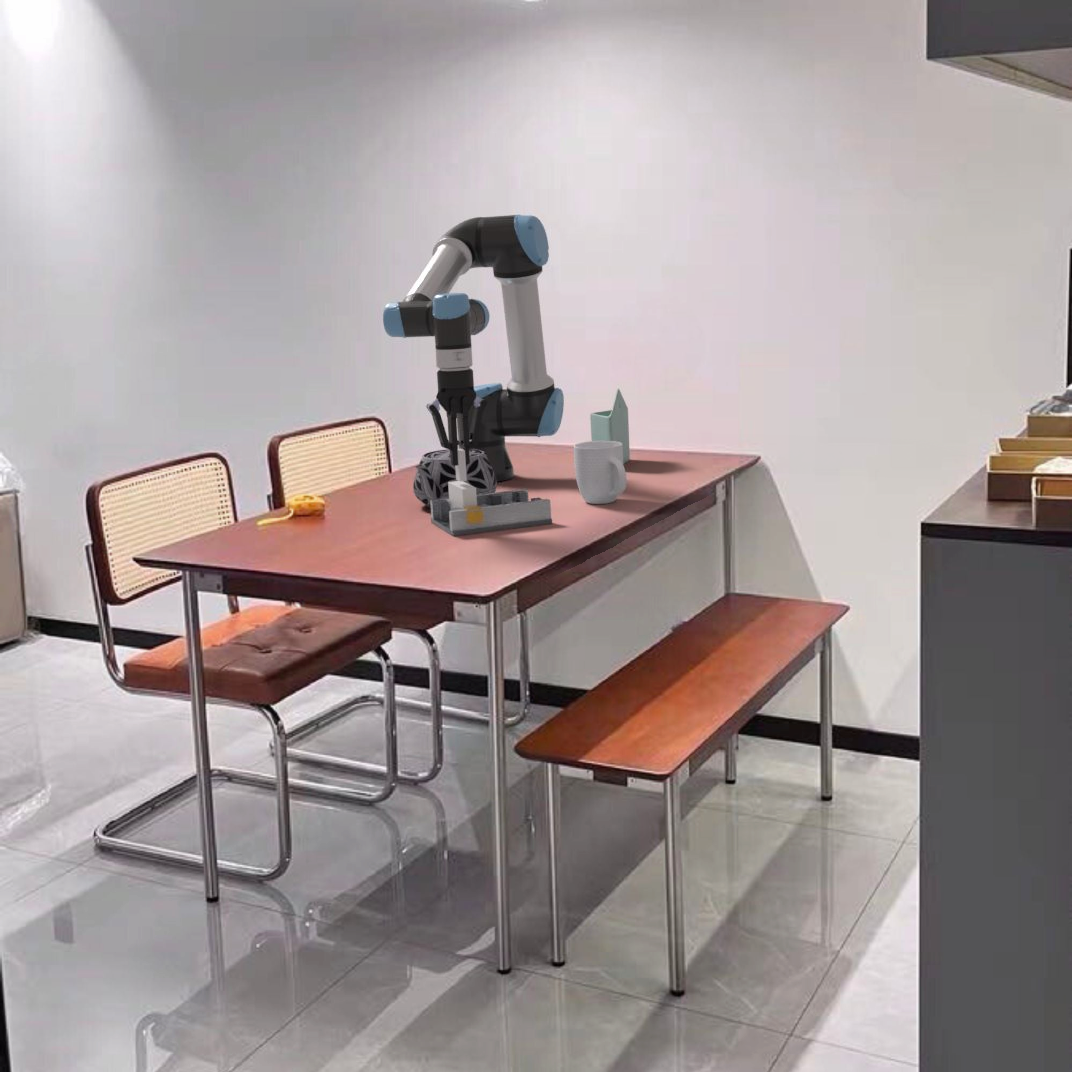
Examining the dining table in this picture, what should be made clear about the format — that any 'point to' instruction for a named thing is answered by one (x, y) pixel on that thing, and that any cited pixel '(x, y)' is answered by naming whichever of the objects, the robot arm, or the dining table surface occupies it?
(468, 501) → the panel
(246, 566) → the dining table surface
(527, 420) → the robot arm
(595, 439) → the planter
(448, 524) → the rack
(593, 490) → the mug
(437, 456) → the teapot
